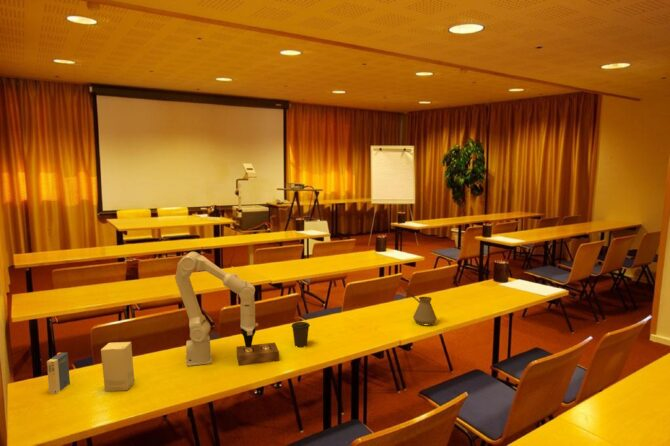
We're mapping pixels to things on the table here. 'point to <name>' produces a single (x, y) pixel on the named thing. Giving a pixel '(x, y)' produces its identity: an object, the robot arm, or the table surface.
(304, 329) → the coffee cup
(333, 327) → the table surface
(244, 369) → the table surface
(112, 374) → the skincare box
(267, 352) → the socket block
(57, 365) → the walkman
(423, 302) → the coffee pot
